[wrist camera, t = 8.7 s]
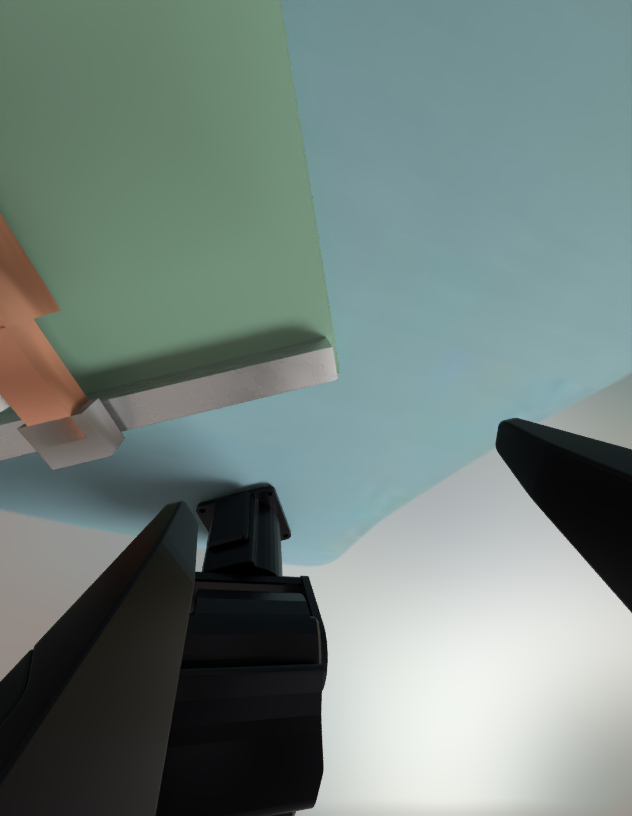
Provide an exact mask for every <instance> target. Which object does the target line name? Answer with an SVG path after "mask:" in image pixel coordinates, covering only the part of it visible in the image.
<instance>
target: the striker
mask: <svg viewBox="0 0 632 816" xmlns="http://www.w3.org/2000/svg"><path fill="white" fill-rule="evenodd" d="M57 311H61V309H60V308H59V306H58V304H57V303H56V301H55V300H54V298H53V296H52V295H51V293H50V292H49V290H48V288H47V287H46V285H45V284H44V282H43V280H42V279H41V277H40V276H39V274H38V272H37V271H36V269H35V268H34V266H33V264H32V263H31V261H30V260H29V258H28V256H27V255H26V253H25V252H24V250H23V248H22V247H21V245H20V244H19V242H18V240H17V239H16V237H15V236H14V234H13V232H12V231H11V229H10V228H9V226H8V224H7V223H6V221H5V219H4V218H3V216H2V215H1V213H0V395H1V396H2V397H3V398H4V399H5V401H6V402H7V403H8V404H9V405H10V406H11V408H12V409H13V410H14V411H15V412H16V414H17V415H18V416H19V417H20V418H21V419H22V421H23V422H24V424H23V425H21V426H20V427H19V428H17V430H18V431H19V432H20V433H21V434H22V436H23V437H24V438H25V439H26V440H27V441H28V442H29V443H30V445H31V446H32V447H33V448H34V449H35V450H36V451H37V453H38V454H39V455H40V456H41V457H42V458H43V459H44V460H45V462H46V463H47V464H48V465H49V466H50V467H51V468H52V470H56V469H60V468H64V467H68V466H72V465H76V464H80V463H85V462H89V461H93V460H97V459H101V458H105V457H109V456H112V455H113V453H114V452H115V451H116V449H117V448H118V447H119V445H120V444H121V443H122V441H123V440H124V439H125V437H124V436H123V434H122V433H121V431H120V430H119V428H118V427H117V425H116V424H115V422H114V421H113V419H112V418H111V416H110V415H109V413H108V412H107V410H106V409H105V407H104V406H103V404H102V403H101V401H100V400H99V398H97V399H93V400H88V398H87V397H86V395H85V394H84V393H83V391H82V390H81V388H80V387H79V385H78V384H77V382H76V381H75V379H74V378H73V376H72V375H71V374H70V372H69V371H68V369H67V368H66V366H65V365H64V363H63V362H62V360H61V359H60V357H59V356H58V355H57V353H56V352H55V350H54V349H53V347H52V346H51V344H50V343H49V341H48V340H47V338H46V337H45V335H44V334H43V333H42V331H41V330H40V328H39V327H38V325H37V324H36V322H35V321H34V319H35V318H38V317H41V316H44V315H48V314H51V313H54V312H57Z"/></svg>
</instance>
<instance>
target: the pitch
mask: <svg viewBox="0 0 632 816" xmlns="http://www.w3.org/2000/svg"><path fill="white" fill-rule="evenodd" d="M0 213H1V215H2V216H3V218H4V219H5V221H6V223H7V224H8V226H9V228H10V229H11V231H12V232H13V234H14V236H15V237H16V239H17V240H18V242H19V244H20V245H21V247H22V248H23V250H24V252H25V253H26V255H27V256H28V258H29V260H30V261H31V263H32V264H33V266H34V268H35V269H36V271H37V272H38V274H39V276H40V277H41V279H42V280H43V282H44V284H45V285H46V287H47V288H48V290H49V292H50V293H51V295H52V296H53V298H54V300H55V301H56V303H57V304H58V306H59V308H60V309H61V311H57V312H54V313H51V314H48V315H44V316H41V317H38V318H35V319H34V321H35V322H36V324H37V325H38V327H39V328H40V330H41V331H42V333H43V334H44V335H45V337H46V338H47V340H48V341H49V343H50V344H51V346H52V347H53V349H54V350H55V352H56V353H57V355H58V356H59V357H60V359H61V360H62V362H63V363H64V365H65V366H66V368H67V369H68V371H69V372H70V374H71V375H72V376H73V378H74V379H75V381H76V382H77V384H78V385H79V387H80V388H81V390H82V391H83V393H89V392H93V391H97V390H101V389H106V388H110V387H114V386H119V385H123V384H127V383H131V382H136V381H140V380H144V379H148V378H153V377H157V376H161V375H166V374H170V373H174V372H178V371H183V370H187V369H191V368H195V367H200V366H204V365H208V364H213V363H217V362H221V361H225V360H230V359H234V358H238V357H242V356H247V355H251V354H255V353H260V352H264V351H268V350H272V349H277V348H281V347H285V346H289V345H294V344H298V343H302V342H307V341H311V340H315V339H319V338H324V337H326V338H327V339H328V341H329V342H330V344H331V345H332V347H333V353H334V359H335V365H336V371H337V373H340V369H339V363H338V356H337V350H336V344H335V338H334V331H333V325H332V319H331V313H330V306H329V300H328V294H327V288H326V281H325V275H324V269H323V263H322V256H321V250H320V244H319V238H318V231H317V225H316V219H315V213H314V206H313V200H312V194H311V188H310V181H309V175H308V169H307V163H306V156H305V150H304V144H303V138H302V131H301V125H300V119H299V113H298V106H297V100H296V94H295V88H294V81H293V75H292V69H291V63H290V56H289V50H288V44H287V38H286V31H285V25H284V19H283V13H282V6H281V0H0ZM12 410H13V409H12V408H11V406H10V407H8V408H6V409H5V410H3V411H2V412H0V413H3V412H7V411H12Z"/></svg>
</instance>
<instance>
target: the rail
mask: <svg viewBox="0 0 632 816" xmlns="http://www.w3.org/2000/svg"><path fill="white" fill-rule="evenodd" d="M335 380H338V377H337V371H336V365H335V359H334V353H333V347H332V345H331V344H330V342H329V341H328V339H327V338H326V337H324V338H319V339H315V340H311V341H307V342H302V343H298V344H294V345H289V346H285V347H281V348H277V349H272V350H268V351H264V352H260V353H255V354H251V355H247V356H242V357H238V358H234V359H230V360H225V361H221V362H217V363H213V364H208V365H204V366H200V367H195V368H191V369H187V370H183V371H178V372H174V373H170V374H166V375H161V376H157V377H153V378H148V379H144V380H140V381H136V382H131V383H127V384H123V385H119V386H114V387H110V388H106V389H101V390H97V391H93V392H89V393H84V394H85V395H86V397H87V398H88V400H93V399H97V398H99V400H100V401H101V403H102V404H103V406H104V407H105V409H106V410H107V412H108V413H109V415H110V416H111V418H112V419H113V421H114V422H115V424H116V425H117V427H118V428H119V430H120V431H121V432H122V431H126V430H130V429H134V428H138V427H142V426H147V425H151V424H155V423H159V422H163V421H167V420H172V419H176V418H180V417H184V416H188V415H193V414H197V413H201V412H205V411H209V410H213V409H218V408H222V407H226V406H230V405H234V404H239V403H243V402H247V401H251V400H255V399H259V398H264V397H268V396H272V395H276V394H280V393H284V392H289V391H293V390H297V389H301V388H305V387H310V386H314V385H318V384H322V383H326V382H330V381H335ZM23 424H24V422H23V421H22V419H21V418H20V417H19V416H18V415H17V414H16V412H15V411H14V410H12V411H7V412H3V413H0V460H5V459H9V458H13V457H17V456H21V455H25V454H30V453H34V452H37V451H36V450H35V449H34V448H33V447H32V446H31V445H30V443H29V442H28V441H27V440H26V439H25V438H24V437H23V436H22V434H21V433H20V432H19V431H18V430H17V428H19V427H20V426H21V425H23Z"/></svg>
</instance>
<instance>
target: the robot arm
mask: <svg viewBox="0 0 632 816" xmlns="http://www.w3.org/2000/svg"><path fill="white" fill-rule="evenodd" d="M496 449H497V451H498V453H499V454H500V456H501V457H502V459H503V460H504V461H505V463H506V464H507V465H508V467H509V468H510V469H511V471H512V473H513V474H514V475H515V477H516V478H517V479H518V481H519V482H520V484H521V485H522V486H523V488H524V489H525V491H526V492H527V493H528V494H529V496H530V497H531V498H532V499H533V501H534V502H535V503H536V504H537V505H538V506H539V508H540V509H541V510H542V511H543V512H544V513H545V515H546V516H547V517H548V518H549V519H550V520H551V521H552V522H553V524H554V525H555V526H556V527H557V528H558V529H559V531H560V532H561V533H562V534H563V535H564V536H565V537H566V538H567V540H568V541H569V542H570V543H571V544H572V545H573V546H574V548H575V549H577V551H578V552H579V553H580V554H581V556H582V557H583V558H584V559H585V560H586V561H587V562H588V564H589V565H590V566H591V567H592V568H593V569H594V570H595V572H596V573H597V574H598V575H599V576H600V577H601V578H602V580H603V581H604V582H605V583H606V584H607V585H608V586H609V587H610V589H611V590H612V591H613V592H614V593H615V594H616V595H617V597H618V598H619V599H620V600H621V601H622V602H623V603H624V604H625V606H626V607H627V608H628V609H629V610H630V611H631V613H632V450H631V449H628V448H624V447H621V446H617V445H613V444H610V443H606V442H603V441H599V440H595V439H591V438H587V437H584V436H581V435H577V434H573V433H570V432H566V431H563V430H559V429H555V428H551V427H548V426H544V425H541V424H537V423H533V422H530V421H526V420H522V419H519V418H512V419H508V420H504V421H501V422H500V424H499V426H498V432H497V438H496ZM268 492H270V493H268ZM196 512H197V514H198V515H199V517H200V519H201V520H202V522H203V524H204V525H205V527H206V529H207V530H208V532H209V535H208V540H207V548H206V553H205V558H204V563H203V567H202V572H195V565H196V550H197V534H198V524H197V520H196V518H195V516H194V515H193V513H192V511H191V510H190V508H189V507H188V505H187V503H186V502H185V501H177V502H173V503H170V504H167V505H166V506H165V507H164V508H163V509H162V510H161V511H160V512H159V514H158V515H157V516H156V517H155V518H154V519H153V520H152V521H151V522H150V523H149V524H148V525H147V526H146V527H145V528H144V530H143V531H142V532H141V533H140V534H139V535H138V536H137V537H136V538H135V539H134V540H133V541H132V542H131V544H129V545H128V547H127V548H126V549H125V550H124V551H123V552H122V553H121V554H120V555H119V556H118V557H117V558H116V559H115V560H114V561H113V563H112V564H111V565H110V566H109V567H108V568H107V569H106V570H105V571H104V572H103V573H102V574H101V575H100V577H98V579H97V580H96V581H95V582H94V583H93V584H92V585H91V586H90V587H89V588H88V589H87V590H86V591H85V592H84V593H83V594H82V596H81V597H80V598H79V599H78V600H77V601H76V602H75V603H74V604H73V605H72V606H71V607H70V608H69V610H67V612H66V613H65V614H64V615H63V616H62V617H61V618H60V619H59V620H58V621H57V622H56V623H55V624H54V625H53V626H52V627H51V629H50V630H49V631H48V632H47V633H46V634H45V635H44V636H43V637H42V638H41V639H40V640H39V641H38V642H37V644H36V645H35V646H34V649H33V650H30V651H29V652H28V653H27V654H26V655H25V656H24V657H23V658H22V659H21V660H20V661H19V663H18V664H17V665H16V666H15V667H14V668H13V669H12V670H11V671H10V672H9V673H8V674H7V675H6V676H5V677H4V678H3V679H2V680H1V681H0V816H294V815H295V813H296V811H299V810H304V809H310V808H313V807H314V805H315V803H316V800H317V795H318V791H319V788H320V784H321V779H322V775H323V749H322V725H321V701H322V690H323V688H324V685H325V681H326V675H327V663H328V658H327V657H328V652H327V640H326V633H325V629H324V625H323V622H322V619H321V615H320V612H319V609H318V605H317V602H316V599H315V596H314V593H313V589H312V586H311V583H310V580H309V577H308V576H300V577H286V576H282V555H281V541H282V540H286V539H289V538H290V537H291V531H290V528H289V525H288V523H287V520H286V517H285V514H284V512H283V509H282V506H281V504H280V501H279V498H278V496H277V493H276V490H275V488H274V487H272V486H266V487H262V488H258V489H254V490H250V491H246V492H242V493H238V494H234V495H230V496H226V497H222V498H218V499H214V500H210V501H206V502H202V503H200V504H198V506H197V509H196Z"/></svg>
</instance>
